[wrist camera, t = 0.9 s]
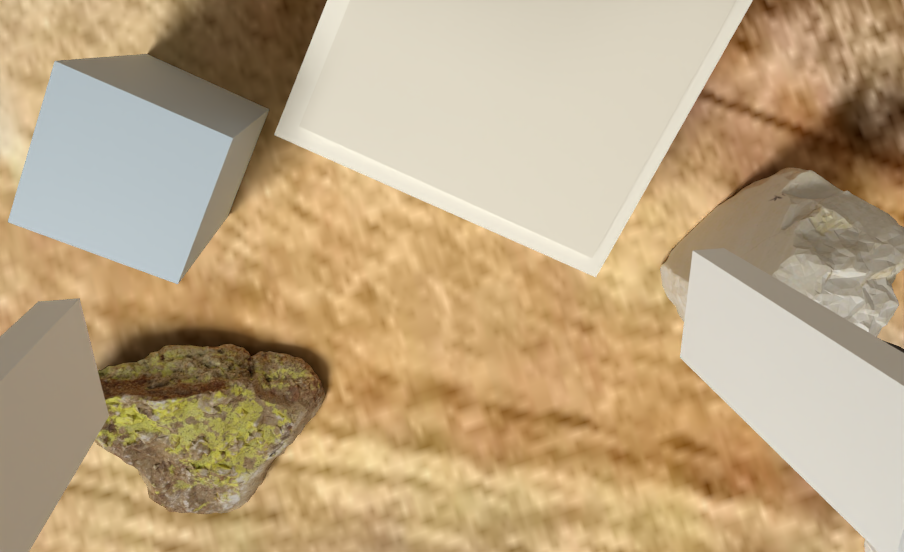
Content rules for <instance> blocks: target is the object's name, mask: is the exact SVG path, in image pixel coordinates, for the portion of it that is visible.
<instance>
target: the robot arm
mask: <svg viewBox="0 0 904 552" xmlns="http://www.w3.org/2000/svg"><path fill="white" fill-rule="evenodd" d="M680 358H681V359H682V360H683V361H684V362H685V363H686V364H687V365H688V366H689V367H690V368H691V369H692V370H693V371H694V372H695V373H696V374H697V375H698V376H699V377H701V378H702V379H703V380H704V381H705V382H706V383H707V384H708V385H709V386H710V387H711V388H712V389H713V390H714V391H715V392H716V393H717V394H718V395H719V396H720V397H721V398H722V399H723V400H724V401H725V402H726V403H727V404H728V405H729V406H730V407H731V408H732V409H733V410H734V411H735V412H736V413H737V414H738V415H739V416H740V417H741V418H742V419H743V420H744V421H745V422H746V423H747V424H748V425H749V426H750V427H751V428H753V429H754V430H755V431H756V432H757V433H758V434H759V435H760V436H761V437H762V438H763V439H764V440H765V441H766V442H767V443H768V444H769V445H770V446H771V447H772V448H773V449H774V450H775V451H776V452H777V453H778V454H779V455H780V456H781V457H782V458H783V459H784V460H785V461H786V462H787V463H788V464H789V465H790V466H791V467H792V468H793V469H794V470H795V471H796V472H797V473H798V474H799V475H800V476H801V477H802V478H803V479H805V480H806V481H807V482H808V483H809V484H810V485H811V486H812V487H813V488H814V489H815V490H816V491H817V492H818V493H819V494H820V495H821V496H822V497H823V498H824V499H825V500H826V501H827V502H828V503H829V504H830V505H831V506H832V507H833V508H834V509H835V510H836V511H837V512H838V513H839V514H840V515H841V516H842V517H843V518H844V519H845V520H846V521H847V522H848V523H849V524H850V525H851V526H852V527H853V528H854V529H855V530H857V531H858V532H859V533H860V534H861V535H862V536H863V537H864V538H865V539H866V540H867V541H868V542H869V543H870V544H871V545H872V546H873V547H874V548H875V549H876V550H877V551H878V552H904V349H903V348H901V347H899V346H896V345H894V344H891V343H888V342H885V341H883V340H881V339H879V338H877V337H875V336H874V335H872V334H870V333H869V332H867V331H865V330H863V329H862V328H860V327H858V326H857V325H855V324H853V323H851V322H850V321H848V320H846V319H845V318H843V317H841V316H839V315H838V314H836V313H834V312H833V311H831V310H829V309H827V308H826V307H824V306H822V305H821V304H819V303H817V302H815V301H814V300H812V299H810V298H809V297H807V296H805V295H803V294H802V293H800V292H798V291H797V290H795V289H793V288H791V287H790V286H788V285H786V284H785V283H783V282H781V281H779V280H778V279H776V278H774V277H773V276H771V275H769V274H767V273H766V272H764V271H762V270H761V269H759V268H757V267H755V266H754V265H752V264H750V263H749V262H747V261H745V260H743V259H742V258H740V257H738V256H737V255H735V254H733V253H731V252H730V251H728V250H726V249H725V248H718V249H705V250H693V252H692V260H691V269H690V277H689V286H688V294H687V303H686V311H685V320H684V328H683V337H682V345H681V354H680ZM108 417H109V414H108V410H107V406H106V402H105V398H104V394H103V390H102V386H101V382H100V378H99V374H98V370H97V366H96V362H95V358H94V354H93V350H92V346H91V342H90V338H89V334H88V330H87V326H86V322H85V318H84V314H83V311H82V307H81V303H80V299H66V300H53V301H41V302H37V303H36V304H35V305H34V306H33V307H32V308H31V309H30V310H29V311H28V312H27V313H25V314H24V315H23V316H22V317H21V318H20V319H19V320H18V321H17V322H16V323H15V324H14V325H12V326H11V327H10V328H9V329H8V330H7V331H6V332H5V333H4V334H3V335H2V336H0V552H29V550H30V549H31V547H32V545H33V544H34V542H35V540H36V539H37V537H38V535H39V533H40V532H41V530H42V528H43V527H44V525H45V523H46V522H47V520H48V518H49V517H50V515H51V513H52V511H53V510H54V508H55V506H56V505H57V503H58V501H59V500H60V498H61V496H62V495H63V493H64V491H65V489H66V488H67V486H68V484H69V483H70V481H71V479H72V478H73V476H74V474H75V473H76V471H77V469H78V467H79V466H80V464H81V462H82V461H83V459H84V457H85V456H86V454H87V452H88V451H89V449H90V447H91V446H92V444H93V442H94V440H95V439H96V437H97V435H98V434H99V432H100V430H101V429H102V427H103V425H104V424H105V422H106V420H107V418H108Z"/></svg>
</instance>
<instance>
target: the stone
mask: <svg viewBox="0 0 904 552" xmlns="http://www.w3.org/2000/svg"><path fill="white" fill-rule="evenodd" d="M718 248H725V249H726V250H728V251H730V252H731V253H733V254H735V255H737V256H738V257H740V258H742V259H743V260H745V261H747V262H749V263H750V264H752V265H754V266H755V267H757V268H759V269H761V270H762V271H764V272H766V273H767V274H769V275H771V276H773V277H774V278H776V279H778V280H779V281H781V282H783V283H785V284H786V285H788V286H790V287H791V288H793V289H795V290H797V291H798V292H800V293H802V294H803V295H805V296H807V297H809V298H810V299H812V300H814V301H815V302H817V303H819V304H821V305H822V306H824V307H826V308H827V309H829V310H831V311H833V312H834V313H836V314H838V315H839V316H841V317H843V318H845V319H846V320H848V321H850V322H851V323H853V324H855V325H857V326H858V327H860V328H862V329H863V330H865V331H867V332H869V333H870V334H872V335H874V336H875V337H877V335H878V334H879V332H880V330H881V328H882V327H884V326H885V325H887V323H888V321H889V320H890V319H891V317H892V316H893V315H894V312H895V311H896V309H897V307H898V306H899V303H898V300H897V298H896V296H895V294H894V292H893V289H892V285H891V284H892V283H893V281H894V280H895V276H896V274H897V273H899V272H900V271H902V270H903V269H904V227H902V226H900V225H899V224H898V223H897V222H896V220H895V219H894V218H892V217H891V216H890V215H889V214H888V213H886V212H884V211H882V210H880V209H879V208H877V207H875V206H873V205H871V204H869V203H867V202H866V201H864V200H862V199H860V198H858V197H857V196H855V195H853V194H851V193H850V192H849V191H842V190H840V189H839V188H837V187H835V186H834V185H832V184H831V183H829V182H828V181H827V180H825V179H824V178H822V177H821V176H819V175H818V174H817V173H815V172H814V171H812V170H803V169H799V168H784V169H782V170H780V171H779V172H778V173H776V174H774V175H772V176H770V177H768V178H764V179H761V180H759V181H756V182H753V183H752V184H750V185H749V186H747V187H745V188H743V189H742V190H740V191H739V192H738V193H737V194H736V195H734V196H733V197H731V198H730V199H728V200H726V201H725V202H723V203H722V204H720V205H718V206H717V207H716V208H715V209H714V210H713V211H712V212H710V213H709V214H708V215H707V216H706V217H705V218H704V219H703V220H702V221H701V222H700V223H699V224H698V225H697V226H696V227H695V228H694V229H693V230H692V231H691V232H690V233H689V234H688V235H687V236H685V237H684V238H683V239H682V240H681V241H680V242H679V243H678V244H677V245H676V247H675V248H674V249H673V250H672V251H671V253H670V254H669V258H668V259H667V261H666V262H665V263H663V264H662V266H661V268H660V270H661V278H662V286H663V288H664V291H665V293H666V295H667V297H668V298H669V299H670V301H671V302H672V303H673V304H674V305H675V306H676V308H677V312H678V314H679V316H680V317H681V318H682V320H683V321H684V320H685V311H686V303H687V294H688V286H689V277H690V269H691V260H692V252H693V250H705V249H718Z"/></svg>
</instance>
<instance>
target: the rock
mask: <svg viewBox="0 0 904 552" xmlns="http://www.w3.org/2000/svg"><path fill="white" fill-rule="evenodd" d="M98 374H99V378H100V382H101V386H102V390H103V394H104V398H105V402H106V406H107V410H108V414H109V417H108V418H107V420H106V422H105V424H104V425H103V427H102V429H101V430H100V432H99V434H98V435H97V437H96V439H95V440H94V441H95V442H96V443H97V445H99V446H101V447H102V448H104V449H105V450H107V451H109V452H110V453H112V454H114V455H116V456H118V457H120V458H121V459H122V460H123V461H124V462H125V463H126V464H129V465H132V466H134V467H135V468H136V469H138V471H139V475H140V476H141V477H142V479H143V480H144V482H145V484H146V485H147V489H148V494H149V498H150V499H152V500H153V501H154V502H156V503H158V504H159V505H161V506H163V507H165V508H166V509H167V510H168V511H169V512H179V513H197V514H210V513H227V512H230V511H233V510H235V509H238V508H240V507H241V506H242V505H243V504H244V503H246V502H248V501H249V499H250V498H251V496H252V495H253V494H254V493H255V491H256V490H257V488H258V486H259V485H261V484H262V483H263V480H264V478H265V475H266V472H267V470H268V469H269V466H270V464H271V463H272V462H273V460H274V459H275V458H276V457H277V456H279V455H282V454H284V451H285V449H286V448H287V446H288V445H290V444H291V443H293V441H294V440H295V438H296V437H297V435H299V434H300V433H301V432H302V430H303V428H304V427H305V425H306V424H307V423H308V422H309V420H310V419H311V418H312V417H314V416H315V415H316V413H317V411H318V409H319V408H320V406H321V404H322V402H323V400H324V397H325V391H324V389H323V388H322V385H321V381H320V379H319V377H318V375H317V374H316V373H315V372H314V371H313V370H312V368H311V366H310V365H309V364H308V363H306V362H305V361H304V360H303V359H301V358H297V357H293V356H291V355H289V354H282V353H275V352H271V351H268V352H262V351H260V352H258V353H256V354H255V355H253V356H251V355H250V354H249V352H248V351H246V350H245V349H244V348H243V347H238V346H235V345H233V344H224V345H221V346H218V347H209V346H206V347H198V346H192V345H185V346H184V345H167V346H164V347H163V348H162V349H161V350H159V351H157V352H152V353H150V354H149V355H148V356H147V357H146V358H144V359H142V360H140V361H138V362H130V363H122V364H119V365H116V366H107V367H106V368H104V369H103V370H99V371H98Z"/></svg>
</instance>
